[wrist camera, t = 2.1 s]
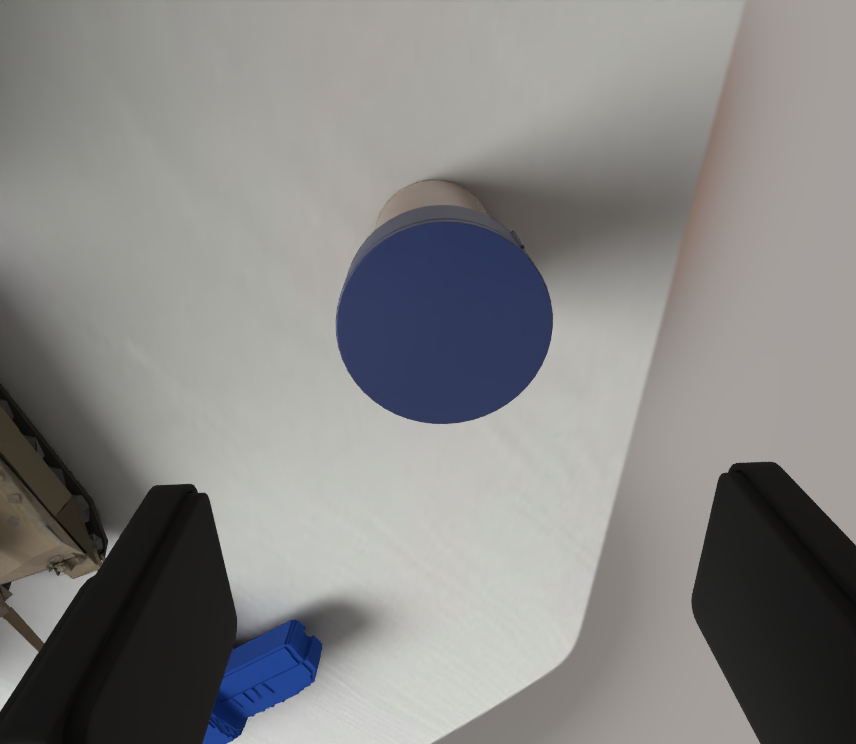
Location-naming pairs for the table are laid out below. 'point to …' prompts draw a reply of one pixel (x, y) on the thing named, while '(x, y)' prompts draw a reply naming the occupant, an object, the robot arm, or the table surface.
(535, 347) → the lid
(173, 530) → the robot arm
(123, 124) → the table surface
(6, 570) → the tank
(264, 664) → the toy gun
